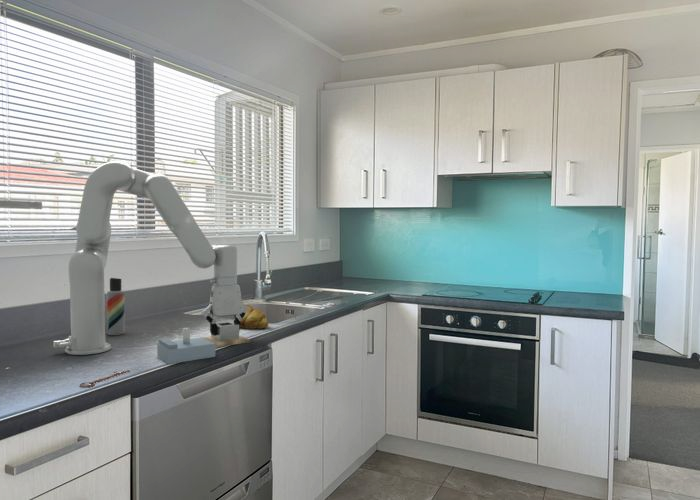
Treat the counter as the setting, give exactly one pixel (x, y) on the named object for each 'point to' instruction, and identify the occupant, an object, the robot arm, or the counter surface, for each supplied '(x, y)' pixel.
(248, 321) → the bread roll
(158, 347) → the vise block
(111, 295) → the lotion bottle
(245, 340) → the cork mat
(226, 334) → the grey block with hole
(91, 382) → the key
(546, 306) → the counter surface
